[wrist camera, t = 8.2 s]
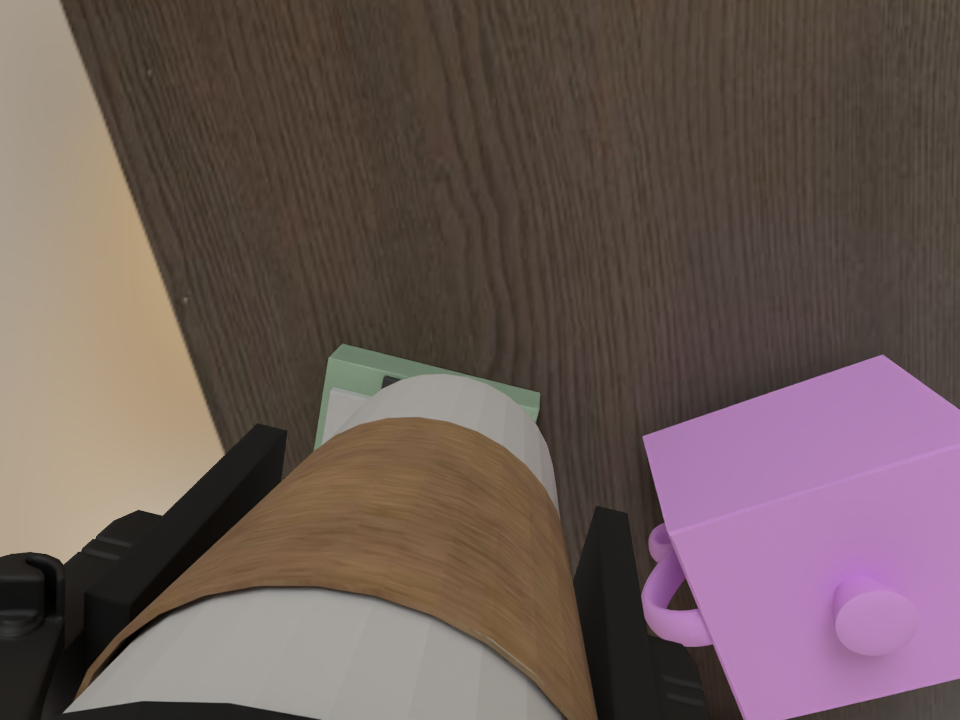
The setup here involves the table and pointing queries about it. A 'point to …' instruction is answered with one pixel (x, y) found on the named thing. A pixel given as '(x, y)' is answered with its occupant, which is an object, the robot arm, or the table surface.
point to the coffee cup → (374, 584)
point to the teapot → (814, 540)
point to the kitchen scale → (384, 385)
